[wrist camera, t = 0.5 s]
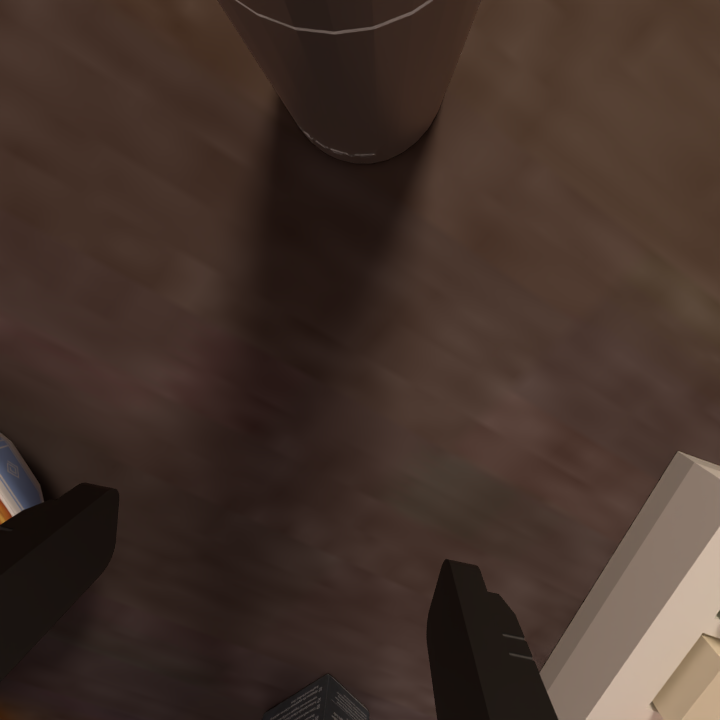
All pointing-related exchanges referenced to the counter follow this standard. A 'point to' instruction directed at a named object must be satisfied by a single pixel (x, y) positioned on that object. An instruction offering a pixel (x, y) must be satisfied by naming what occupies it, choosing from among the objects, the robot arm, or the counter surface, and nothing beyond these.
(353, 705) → the box
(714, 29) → the counter surface
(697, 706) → the sand key
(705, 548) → the keypad
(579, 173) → the counter surface
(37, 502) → the ramen bowl
